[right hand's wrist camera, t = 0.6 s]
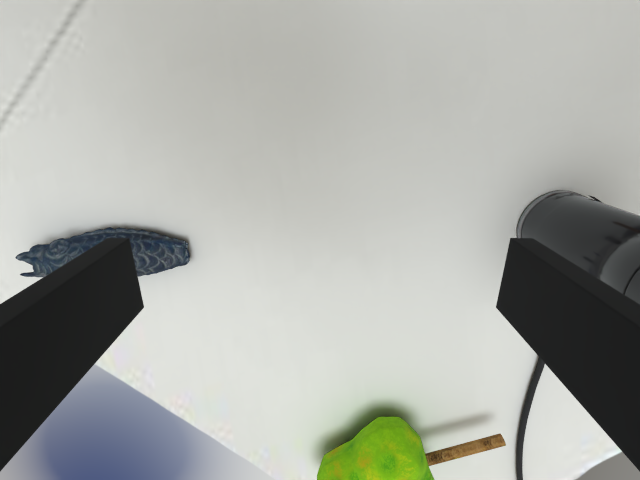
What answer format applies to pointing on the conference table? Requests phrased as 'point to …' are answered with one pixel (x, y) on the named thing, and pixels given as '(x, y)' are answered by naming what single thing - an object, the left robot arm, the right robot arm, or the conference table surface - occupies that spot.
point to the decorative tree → (393, 453)
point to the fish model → (146, 246)
